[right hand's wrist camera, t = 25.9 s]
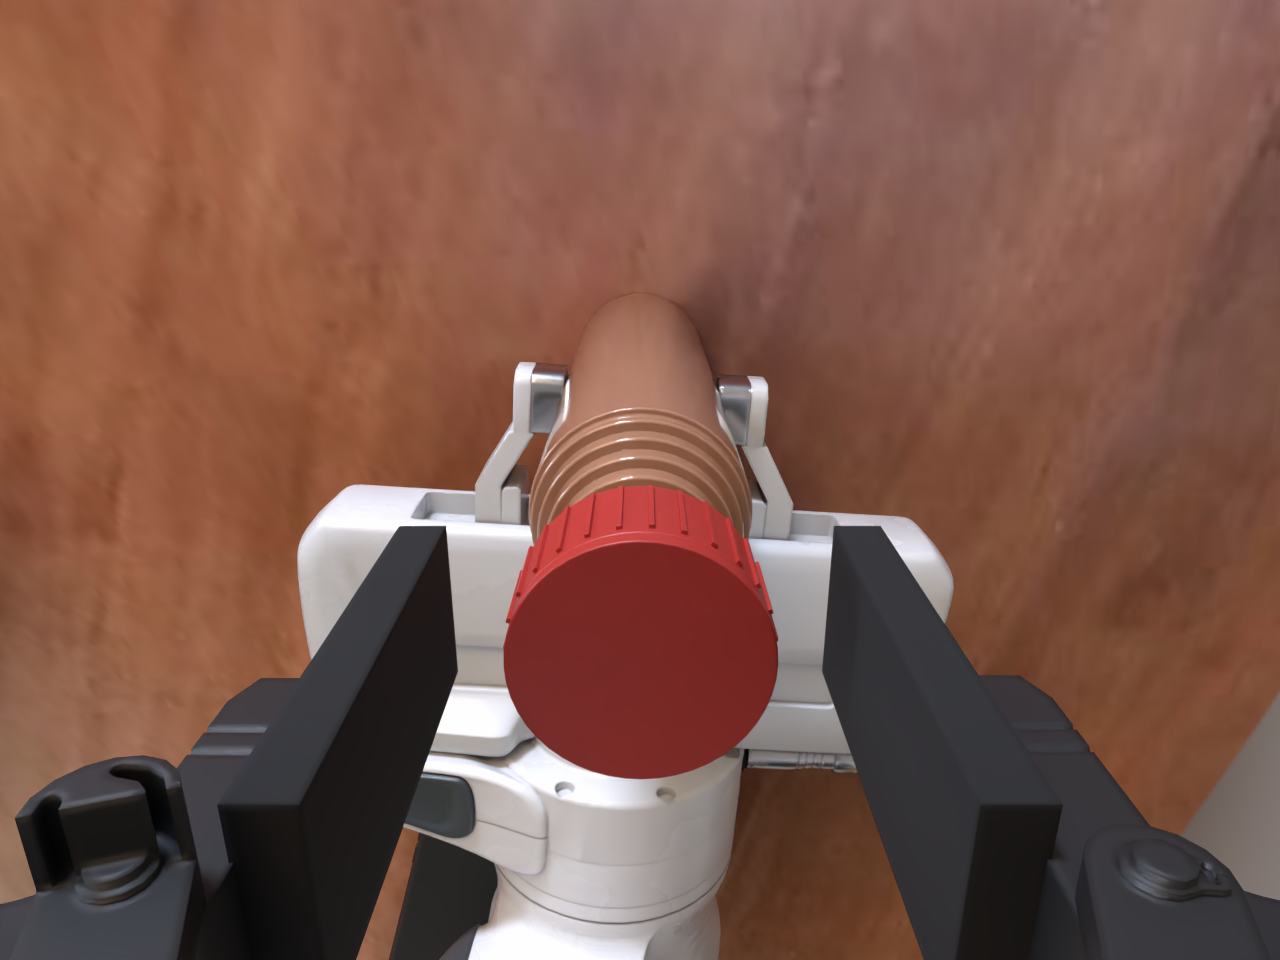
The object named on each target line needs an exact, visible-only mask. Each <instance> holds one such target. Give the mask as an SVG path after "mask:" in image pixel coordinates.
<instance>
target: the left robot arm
mask: <svg viewBox="0 0 1280 960" xmlns="http://www.w3.org/2000/svg"><path fill="white" fill-rule="evenodd" d="M567 378H568V365H557V364H544V363H536V362H520V363H519V365H518V367H517V368H516V371H515V379H514V393H513V421H512V423H511V425H510V426H509V428H508V429H507V431H506V432H505V434H504V436H503V437H502V439H501V440H500V442H499V444H498V445H497V447H496V448H495V450H494V451H493V453H492V455H491V456H490V458H489V459H488V461H487V462H486V464H485V466H484V468H483V470H482V472H481V474H480V476H479V478H478V480H477V482H476V484H475V491H460V490H443V489H426V488H409V487H393V486H376V485H351V486H349V487H347V488H345V489H344V490H342V491H341V492H340V493H339V494H338V495H337V496H336V497H335V498H334V499H333V500H332V501H330V502H329V503H328V504H327V505H326V506H325V507H324V508H323V509H322V510H321V511H320V512H319V513H318V514H317V516H316V517H315V518H314V520H313V521H312V522H311V523H310V525H309V526H308V527H307V529H306V530H305V532H304V534H303V536H302V538H301V541H300V544H299V547H298V555H297V564H298V581H299V591H300V599H301V607H302V614H303V621H304V627H305V633H306V638H307V643H308V648H309V653H310V658H311V660H312V659H313V657H314V656H315V654H316V653H317V651H318V649H319V648H320V646H321V645H322V643H323V642H324V640H325V639H326V637H327V636H328V634H329V633H330V631H331V630H332V628H333V627H334V625H335V623H336V622H337V620H338V619H339V617H340V616H341V614H342V613H343V611H344V610H345V608H346V607H347V605H348V604H349V602H350V601H351V599H352V597H353V596H354V594H355V593H356V591H357V590H358V588H359V587H360V585H361V584H362V582H363V581H364V579H365V578H366V576H367V575H368V573H369V572H370V570H371V568H372V567H373V565H374V564H375V562H376V561H377V559H378V558H379V556H380V555H381V553H382V552H383V550H384V549H385V547H386V546H387V544H388V542H389V541H390V539H391V538H392V536H393V535H394V533H395V532H396V530H397V529H398V527H399V526H446V530H447V542H448V554H449V567H450V579H451V591H452V604H453V616H454V628H455V640H456V653H457V665H458V673H457V676H456V679H455V682H454V684H453V687H452V690H451V693H450V696H449V699H448V701H447V704H446V707H445V710H444V713H443V715H442V718H441V721H440V724H439V727H438V730H437V732H436V735H435V738H434V741H433V744H432V747H431V749H430V752H429V755H428V758H427V761H426V763H425V766H424V769H423V772H422V775H421V778H420V780H419V783H418V786H417V789H416V792H415V794H414V797H413V800H412V803H411V806H410V809H409V811H408V814H407V817H406V820H405V823H404V826H403V827H404V828H407V829H410V830H413V831H417V832H420V833H423V834H425V835H428V836H431V837H434V838H437V839H440V840H443V841H445V842H448V843H450V844H453V845H456V846H458V847H461V848H463V849H465V850H468V851H470V852H472V853H475V854H477V855H479V856H481V857H483V858H485V859H487V860H489V861H491V862H493V863H494V864H495V868H496V872H497V879H498V885H497V889H496V891H495V894H494V897H493V900H492V904H491V909H490V914H489V920H488V923H486V924H485V925H480V924H476V925H475V926H473V927H472V928H471V929H469V930H468V931H467V932H466V933H464V934H463V935H462V936H461V937H460V938H459V939H458V940H457V941H456V942H455V943H454V944H453V945H452V946H451V947H450V948H449V949H448V950H447V951H446V952H445V953H444V955H443V956H442V957H441V958H440V959H439V960H718V957H719V950H720V938H721V924H720V915H719V909H718V905H717V901H716V897H715V895H716V893H717V892H718V890H719V888H720V886H721V884H722V882H723V880H724V878H725V875H726V872H727V869H728V866H729V862H730V858H731V851H732V844H733V837H734V828H735V820H736V812H737V804H738V796H739V789H740V776H741V770H742V771H743V770H744V768H751V769H769V770H802V769H811V768H812V769H823V770H831V771H832V772H836V773H843V774H855V773H858V772H857V769H856V766H855V763H854V761H853V758H852V755H851V752H850V749H849V747H848V744H847V741H846V738H845V735H844V732H843V730H842V727H841V724H840V721H839V718H838V715H837V713H836V710H835V707H834V704H833V701H832V699H831V696H830V693H829V690H828V687H827V684H826V682H825V679H824V676H823V673H822V665H823V653H824V640H825V628H826V616H827V604H828V591H829V579H830V567H831V554H832V542H833V530H834V526H881V527H882V529H883V530H884V532H885V533H886V535H887V536H888V538H889V539H890V541H891V542H892V544H893V546H894V547H895V549H896V550H897V552H898V553H899V555H900V556H901V558H902V559H903V561H904V562H905V564H906V565H907V567H908V568H909V570H910V572H911V573H912V575H913V576H914V578H915V579H916V581H917V582H918V584H919V585H920V587H921V588H922V590H923V591H924V593H925V594H926V596H927V597H928V599H929V601H930V602H931V604H932V605H933V607H934V608H935V610H936V611H937V613H938V614H939V616H940V617H941V619H942V620H943V622H944V623H945V624H946V620H947V617H948V613H949V609H950V606H951V601H952V597H953V590H954V582H953V577H952V574H951V571H950V569H949V567H948V565H947V563H946V561H945V560H944V558H943V557H942V555H941V554H940V552H939V550H938V549H937V547H936V546H935V545H934V544H933V542H932V541H931V540H930V539H929V538H928V537H927V536H926V534H925V533H924V532H923V531H922V530H921V529H920V528H919V527H918V526H917V524H916V523H914V522H913V521H912V520H910V519H908V518H904V517H898V516H882V515H864V514H848V513H831V512H814V511H797V510H793V502H792V500H791V497H790V495H789V493H788V491H787V488H786V486H785V484H784V481H783V479H782V477H781V475H780V473H779V471H778V468H777V466H776V464H775V462H774V460H773V458H772V455H771V453H770V451H769V449H768V447H767V445H766V443H765V440H764V435H765V426H766V417H767V409H768V400H769V396H768V384H767V383H766V381H765V379H764V377H756V376H740V375H719V374H716V377H715V384H716V387H717V390H718V393H719V396H720V399H721V402H722V405H723V408H724V411H725V414H726V417H727V420H728V423H729V426H730V429H731V432H732V435H733V438H734V441H735V444H736V445H741V447H742V449H743V451H744V453H745V455H746V457H747V459H748V462H749V464H750V466H751V468H752V470H753V472H754V474H755V476H756V479H757V481H758V482H757V481H756V480H755V479H747V480H748V483H749V486H750V492H751V497H752V510H753V515H752V525H751V530H750V537H749V544H750V547H751V551H752V554H753V558H754V561H755V562H759V565H760V568H761V571H762V575H763V578H764V582H765V585H766V588H767V592H768V595H769V599H770V602H771V605H772V609H773V612H774V613H773V614H772V617H773V621H774V624H775V628H776V631H777V635H778V641H777V646H778V671H777V679H776V683H775V687H774V690H773V694H772V696H771V699H770V701H769V703H768V705H767V708H766V710H765V711H764V713H763V715H762V716H761V718H760V720H759V721H758V723H757V724H756V725H755V727H754V728H753V729H752V730H751V731H750V733H749V734H748V735H747V736H746V737H745V738H744V739H743V740H742V741H741V742H740V743H739V744H738V745H736V746H735V747H734V748H733V749H731V750H730V751H729V752H727V753H726V754H724V755H723V756H722V757H720V758H718V759H716V760H714V761H713V762H711V763H709V764H707V765H705V766H702V767H700V768H697V769H695V770H693V771H689V772H686V773H683V774H679V775H675V776H670V777H664V778H656V779H624V778H618V777H612V776H607V775H603V774H599V773H595V772H592V771H589V770H587V769H584V768H582V767H579V766H577V765H575V764H573V763H571V762H569V761H567V760H565V759H563V758H562V757H560V756H559V755H557V754H556V753H554V752H553V751H552V750H550V749H549V748H548V747H546V746H545V745H544V744H543V743H542V742H541V741H540V740H539V739H538V738H536V736H535V735H534V734H533V733H532V732H531V731H530V729H529V728H528V727H527V726H526V725H525V723H524V722H523V720H522V718H521V717H520V715H519V714H518V712H517V710H516V708H515V706H514V704H513V702H512V700H511V698H510V694H509V691H508V688H507V685H506V680H505V674H504V667H503V666H504V651H503V645H504V642H505V638H506V634H507V630H508V627H509V624H508V623H506V618H507V615H508V611H509V608H510V604H511V601H512V597H513V594H514V591H515V587H516V584H517V580H518V577H519V573H520V570H522V569H523V566H524V562H525V559H526V555H527V552H528V549H529V547H530V546H534V544H533V541H532V534H531V530H530V523H529V499H530V495H529V469H528V468H527V466H524V465H515V464H516V462H517V461H518V459H519V457H520V456H521V454H522V453H523V451H524V450H525V448H526V446H527V445H528V443H529V442H530V440H531V438H532V437H533V435H534V434H535V433H549V432H550V429H551V426H552V423H553V420H554V417H555V414H556V411H557V408H558V405H559V402H560V399H561V396H562V393H563V390H564V387H565V384H566V381H567Z"/></svg>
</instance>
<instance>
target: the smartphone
mask: <svg viewBox="0 0 1280 960" xmlns="http://www.w3.org/2000/svg"><path fill="white" fill-rule="evenodd" d="M412 863H413V864H412V868H411V872H410V876H409V880H408V884H407V888H406V892H405V896H404V900H403V905H402V909H401V913H400V917H399V921H398V925H397V929H396V933H395V937H394V941H393V945H392V949H391V954H390V958H389V960H439V959H440V958H441V957H442V956H443V955H444V953H445V952H446V951H447V950H448V949H449V948H450V947H451V946H452V945H453V944H454V943H455V942H456V941H457V940H458V939H459V938H460V937H461V936H462V935H463V934H464V933H466V932H467V931H468V930H469V929H471V928H472V927H473V926H475V925H476V924H480V925H485V924H486V923H488V920H489V914H490V909H491V904H492V900H493V897H494V894H495V891H496V889H497V885H498V879H497V872H496V868H495V864H494V863H493V862H491V861H489V860H487V859H485V858H483V857H481V856H479V855H477V854H475V853H472V852H470V851H468V850H465V849H463V848H461V847H458V846H456V845H453V844H450V843H448V842H445V841H443V840H440V839H437V838H434V837H431V836H428V835H425V834H423V833H420V832H419V836H418V843H417V845H416V848H415V852H414V857H413V861H412Z"/></svg>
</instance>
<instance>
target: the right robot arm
mask: <svg viewBox="0 0 1280 960" xmlns="http://www.w3.org/2000/svg"><path fill="white" fill-rule="evenodd" d="M457 673H458V665H457V653H456V640H455V628H454V616H453V604H452V591H451V579H450V567H449V554H448V542H447V530H446V526H399V527H398V529H397V530H396V532H395V533H394V535H393V536H392V538H391V539H390V541H389V542H388V544H387V546H386V547H385V549H384V550H383V552H382V553H381V555H380V556H379V558H378V559H377V561H376V562H375V564H374V565H373V567H372V568H371V570H370V572H369V573H368V575H367V576H366V578H365V579H364V581H363V582H362V584H361V585H360V587H359V588H358V590H357V591H356V593H355V594H354V596H353V597H352V599H351V601H350V602H349V604H348V605H347V607H346V608H345V610H344V611H343V613H342V614H341V616H340V617H339V619H338V620H337V622H336V623H335V625H334V627H333V628H332V630H331V631H330V633H329V634H328V636H327V637H326V639H325V640H324V642H323V643H322V645H321V646H320V648H319V649H318V651H317V653H316V654H315V656H314V657H313V659H312V660H311V662H310V663H309V665H308V666H307V668H306V669H305V671H304V672H303V674H302V675H301V677H300V678H261V679H259V680H258V681H256V682H255V683H254V684H252V685H251V686H249V687H248V688H246V689H245V690H243V691H242V692H240V693H239V694H238V695H236V696H235V697H233V698H232V699H230V700H229V701H228V702H227V703H226V704H225V706H224V707H223V708H222V710H221V711H220V712H219V714H218V715H217V716H216V718H215V719H214V720H213V722H212V723H211V724H210V725H209V727H208V732H207V733H203V735H202V736H201V737H200V739H199V740H198V741H197V743H196V744H195V745H194V747H193V748H192V749H191V755H187V756H186V757H185V758H184V760H183V761H182V762H181V764H180V765H179V766H178V768H177V769H176V768H175V767H174V766H173V765H171V764H170V763H169V762H168V761H166V760H163V759H158V758H154V757H149V756H130V757H117V758H112V759H109V760H105V761H101V762H98V763H94V764H91V765H87V766H84V767H82V768H80V769H77V770H75V771H73V772H71V773H69V774H67V775H65V776H63V777H61V778H58V779H56V780H54V781H53V782H52V783H50V784H49V785H48V786H46V787H45V788H44V789H42V790H41V791H39V792H38V793H37V794H35V795H34V796H33V797H31V798H30V799H29V800H28V802H27V803H26V804H25V806H24V807H23V808H22V810H21V811H20V812H19V813H18V815H17V816H16V817H15V821H16V824H17V827H18V831H19V834H20V837H21V841H22V844H23V847H24V851H25V854H26V857H27V861H28V864H29V867H30V871H31V874H32V877H33V881H34V884H35V887H36V891H37V892H36V895H33V896H30V897H27V898H24V899H20V900H17V901H12V902H8V903H4V904H0V960H356V958H357V955H358V953H359V950H360V947H361V944H362V941H363V938H364V936H365V933H366V930H367V927H368V924H369V922H370V919H371V916H372V913H373V910H374V907H375V905H376V902H377V899H378V896H379V893H380V890H381V888H382V885H383V882H384V879H385V876H386V874H387V871H388V868H389V865H390V862H391V859H392V857H393V854H394V851H395V848H396V845H397V842H398V840H399V837H400V834H401V831H402V828H403V826H404V823H405V820H406V817H407V814H408V811H409V809H410V806H411V803H412V800H413V797H414V794H415V792H416V789H417V786H418V783H419V780H420V778H421V775H422V772H423V769H424V766H425V763H426V761H427V758H428V755H429V752H430V749H431V747H432V744H433V741H434V738H435V735H436V732H437V730H438V727H439V724H440V721H441V718H442V715H443V713H444V710H445V707H446V704H447V701H448V699H449V696H450V693H451V690H452V687H453V684H454V682H455V679H456V676H457ZM822 673H823V676H824V679H825V682H826V684H827V687H828V690H829V693H830V696H831V699H832V701H833V704H834V707H835V710H836V713H837V715H838V718H839V721H840V724H841V727H842V730H843V732H844V735H845V738H846V741H847V744H848V747H849V749H850V752H851V755H852V758H853V761H854V763H855V766H856V769H857V772H858V775H859V778H860V780H861V783H862V786H863V789H864V792H865V794H866V797H867V800H868V803H869V806H870V809H871V811H872V814H873V817H874V820H875V823H876V826H877V828H878V831H879V834H880V837H881V840H882V842H883V845H884V848H885V851H886V854H887V857H888V859H889V862H890V865H891V868H892V871H893V874H894V876H895V879H896V882H897V885H898V888H899V890H900V893H901V896H902V899H903V902H904V905H905V907H906V910H907V913H908V916H909V919H910V922H911V924H912V927H913V930H914V933H915V936H916V938H917V941H918V944H919V947H920V950H921V953H922V955H923V958H924V960H1280V900H1275V899H1271V898H1267V897H1263V896H1259V895H1256V894H1253V893H1249V892H1246V891H1243V889H1242V888H1241V886H1240V885H1239V883H1238V882H1237V880H1236V879H1235V877H1234V876H1233V874H1232V873H1231V871H1230V870H1229V869H1228V868H1227V867H1226V866H1225V865H1223V864H1222V863H1221V862H1220V861H1219V860H1218V859H1216V858H1215V857H1214V856H1213V855H1212V854H1210V853H1209V852H1208V851H1207V850H1205V849H1203V848H1202V847H1200V846H1198V845H1196V844H1194V843H1192V842H1190V841H1188V840H1187V839H1185V838H1183V837H1181V836H1179V835H1177V834H1174V833H1170V832H1167V831H1164V830H1161V829H1157V828H1154V827H1151V826H1150V825H1149V824H1148V823H1147V821H1146V820H1145V819H1144V817H1143V816H1142V815H1141V813H1140V812H1139V811H1138V810H1137V808H1136V807H1135V806H1134V804H1133V803H1132V802H1131V800H1130V799H1129V798H1128V796H1127V795H1126V794H1125V793H1124V791H1123V790H1122V789H1121V787H1120V786H1119V785H1118V783H1117V782H1116V781H1115V779H1114V778H1113V777H1112V776H1111V774H1110V773H1109V772H1108V770H1107V769H1106V768H1105V766H1104V765H1103V764H1102V762H1101V761H1100V760H1099V758H1098V757H1097V756H1096V755H1095V753H1094V752H1090V750H1089V745H1088V744H1087V743H1086V741H1085V740H1084V739H1083V738H1082V736H1081V735H1080V734H1079V732H1078V731H1077V730H1073V724H1072V723H1071V722H1070V721H1069V719H1068V718H1067V717H1066V715H1065V714H1064V713H1063V711H1062V710H1061V709H1060V707H1059V706H1058V705H1057V703H1056V702H1055V701H1054V700H1053V698H1051V697H1050V696H1048V695H1047V694H1046V693H1044V692H1043V691H1041V690H1040V689H1038V688H1037V687H1035V686H1034V685H1032V684H1031V683H1030V682H1028V681H1027V680H1025V679H1024V678H1022V677H1021V676H979V675H978V674H977V672H976V671H975V669H974V668H973V666H972V665H971V663H970V662H969V660H968V659H967V657H966V656H965V654H964V653H963V651H962V649H961V648H960V646H959V645H958V643H957V642H956V640H955V639H954V637H953V636H952V634H951V633H950V631H949V630H948V628H947V627H946V625H945V623H944V622H943V620H942V619H941V617H940V616H939V614H938V613H937V611H936V610H935V608H934V607H933V605H932V604H931V602H930V601H929V599H928V597H927V596H926V594H925V593H924V591H923V590H922V588H921V587H920V585H919V584H918V582H917V581H916V579H915V578H914V576H913V575H912V573H911V572H910V570H909V568H908V567H907V565H906V564H905V562H904V561H903V559H902V558H901V556H900V555H899V553H898V552H897V550H896V549H895V547H894V546H893V544H892V542H891V541H890V539H889V538H888V536H887V535H886V533H885V532H884V530H883V529H882V527H881V526H834V530H833V542H832V554H831V567H830V579H829V591H828V604H827V616H826V628H825V640H824V653H823V665H822Z"/></svg>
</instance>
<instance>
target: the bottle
mask: <svg viewBox="0 0 1280 960" xmlns="http://www.w3.org/2000/svg"><path fill="white" fill-rule="evenodd" d="M648 485H653V486H654V487H661V488H667V489H672V490H675V491H677V490H682V491H683V493H685V494H688V495H690V496H692V497H695V498H697V499H699V500H701V501H703V502H704V501H707V502H709V505H710V506H711V507H713V508H714V509H716V510H717V511H718V512H719V513H720V514H722V515H723V516H724V517H725V518H728V517H729V518H730V519H731V520H732V524H733V526H734V527H735V528H736V529H737V530H738V532H739V533H740V535H741V536H742V537H743V539H745V538H747V539H748V541H749V537H750V530H751V525H752V515H753V510H752V497H751V492H750V486H749V483H748V480H747V477H746V474H745V471H744V468H743V465H742V462H741V459H740V456H739V453H738V450H737V447H736V444H735V441H734V438H733V435H732V432H731V429H730V426H729V423H728V420H727V417H726V414H725V411H724V408H723V405H722V402H721V399H720V396H719V393H718V390H717V387H716V384H715V381H714V378H713V375H712V372H711V369H710V366H709V363H708V360H707V357H706V354H705V351H704V348H703V345H702V342H701V340H700V337H699V334H698V331H697V329H696V327H695V325H694V323H693V322H692V320H691V319H690V317H689V316H688V315H687V314H686V313H685V312H684V311H683V310H682V309H681V308H680V307H678V306H677V305H676V304H674V303H673V302H671V301H669V300H667V299H665V298H662V297H659V296H656V295H651V294H630V295H625V296H622V297H619V298H616V299H614V300H612V301H610V302H608V303H607V304H605V305H604V306H602V307H601V308H600V309H599V310H598V311H597V312H595V314H594V315H593V316H592V317H591V318H590V320H589V321H588V323H587V324H586V326H585V328H584V330H583V333H582V335H581V338H580V341H579V344H578V347H577V350H576V353H575V356H574V359H573V362H572V366H571V369H570V372H569V375H568V378H567V381H566V384H565V387H564V390H563V393H562V396H561V399H560V402H559V405H558V408H557V411H556V414H555V417H554V420H553V423H552V426H551V429H550V432H549V435H548V438H547V441H546V444H545V447H544V450H543V453H542V456H541V459H540V462H539V465H538V468H537V471H536V474H535V478H534V481H533V484H532V488H531V492H530V499H529V523H530V530H531V534H532V541H533V544H535V543H536V541H537V540H538V538H539V537H540V535H541V534H542V531H543V527H544V526H545V525H546V524H548V525H549V524H550V523H551V522H552V521H553V520H554V519H555V518H556V517H557V516H559V515H560V514H561V513H562V512H563V511H564V508H565V507H566V506H569V507H571V506H572V505H574V504H575V503H577V502H579V501H581V500H583V499H585V498H587V497H589V496H590V494H591V493H595V494H597V493H600V492H603V491H606V490H610V489H615V488H618V486H624V487H629V486H648Z"/></svg>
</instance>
